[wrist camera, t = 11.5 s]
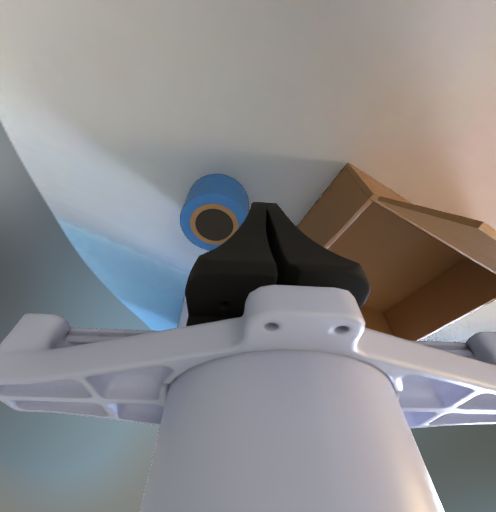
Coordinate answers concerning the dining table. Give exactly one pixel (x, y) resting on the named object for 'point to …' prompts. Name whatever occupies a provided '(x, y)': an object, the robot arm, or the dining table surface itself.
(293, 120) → the dining table surface
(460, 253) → the carton
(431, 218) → the flap
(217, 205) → the tape roll
